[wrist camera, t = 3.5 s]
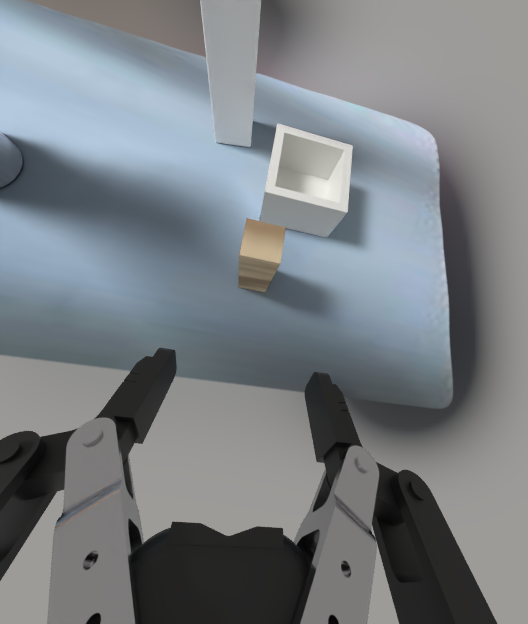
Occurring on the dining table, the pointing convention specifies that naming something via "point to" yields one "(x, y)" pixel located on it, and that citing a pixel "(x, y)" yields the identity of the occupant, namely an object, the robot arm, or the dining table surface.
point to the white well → (307, 182)
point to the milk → (231, 66)
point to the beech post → (260, 254)
